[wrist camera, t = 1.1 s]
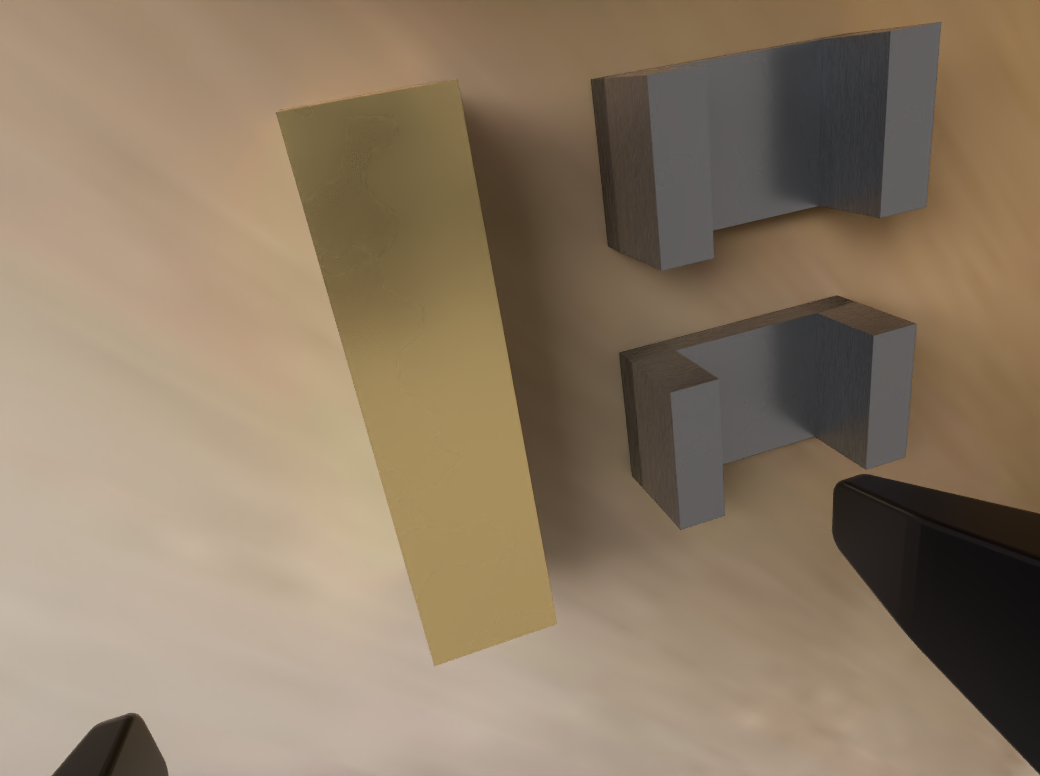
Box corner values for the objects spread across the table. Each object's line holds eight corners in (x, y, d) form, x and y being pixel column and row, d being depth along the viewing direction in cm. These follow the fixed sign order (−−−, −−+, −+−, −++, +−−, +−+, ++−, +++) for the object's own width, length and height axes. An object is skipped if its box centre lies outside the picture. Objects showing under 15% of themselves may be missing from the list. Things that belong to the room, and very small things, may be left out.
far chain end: (833, 414, 23) (905, 457, 20) (632, 475, 21) (680, 529, 18) (837, 295, 21) (916, 323, 18) (619, 352, 20) (670, 392, 17)
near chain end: (840, 192, 20) (925, 206, 17) (608, 246, 18) (661, 271, 16) (845, 33, 18) (941, 21, 15) (591, 79, 17) (647, 75, 14)
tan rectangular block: (506, 523, 21) (557, 624, 17) (406, 554, 20) (434, 666, 16) (416, 85, 16) (457, 80, 12) (281, 109, 15) (276, 112, 11)
